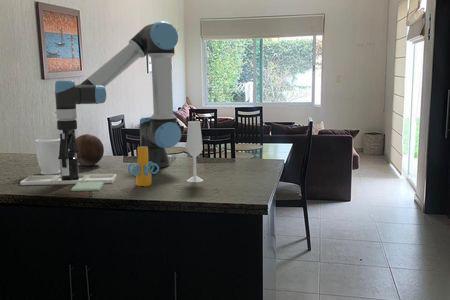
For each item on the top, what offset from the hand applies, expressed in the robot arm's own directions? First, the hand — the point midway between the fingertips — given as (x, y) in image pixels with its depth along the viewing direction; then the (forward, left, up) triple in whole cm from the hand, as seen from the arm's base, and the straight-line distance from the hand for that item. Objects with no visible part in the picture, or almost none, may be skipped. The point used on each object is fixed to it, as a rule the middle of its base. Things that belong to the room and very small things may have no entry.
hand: (69, 172), depth 187 cm
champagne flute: (-51, +4, -4) cm, 51 cm away
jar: (+12, -17, -4) cm, 21 cm away
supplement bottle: (0, 0, -4) cm, 4 cm away
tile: (-10, +12, -4) cm, 16 cm away
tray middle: (0, 0, -4) cm, 4 cm away
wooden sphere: (-1, -33, -4) cm, 33 cm away
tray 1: (+12, 0, -4) cm, 13 cm away
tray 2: (-12, 0, -4) cm, 13 cm away
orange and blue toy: (-31, +10, -4) cm, 32 cm away
